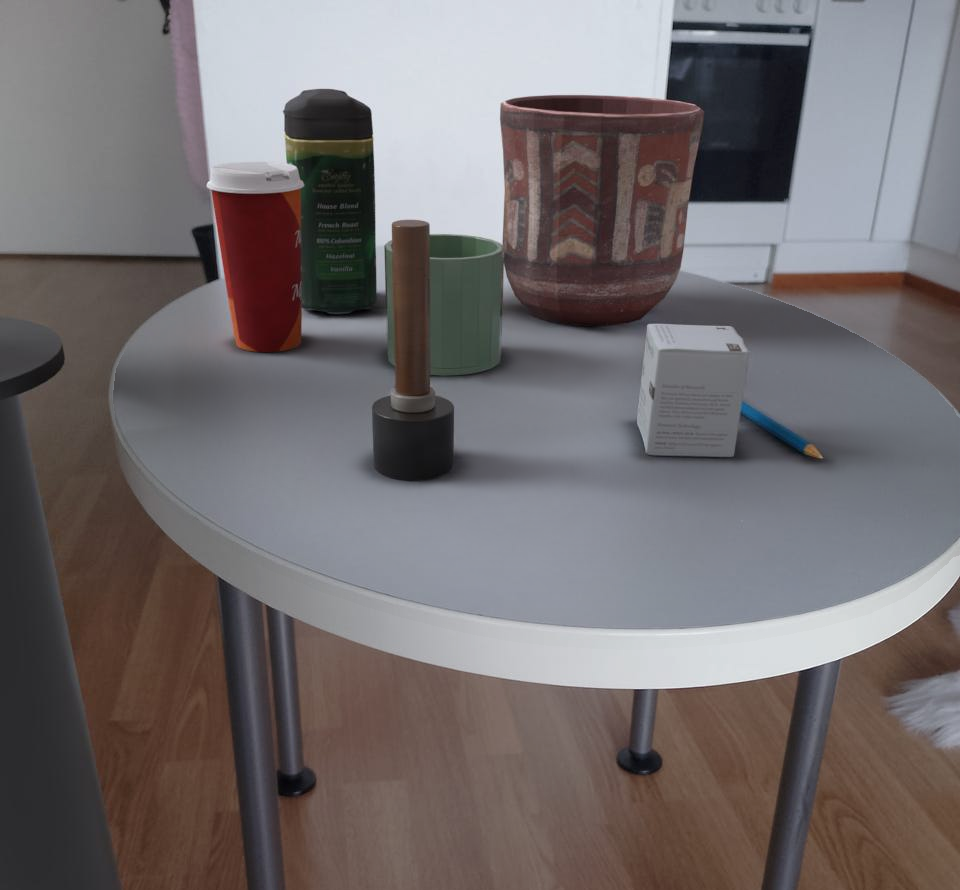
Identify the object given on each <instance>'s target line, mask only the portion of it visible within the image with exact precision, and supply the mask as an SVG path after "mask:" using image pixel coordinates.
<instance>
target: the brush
mask: <svg viewBox="0 0 960 890" xmlns="http://www.w3.org/2000/svg"><path fill="white" fill-rule="evenodd" d="M430 227H431V226H430V222H428V221H425V220H422V219H421V220H420V219H400V220H395V221H392V222H391V240H392V262H393V307H394V352H395V366H394V385H395V386H394V387H392V388H391V390H390V395H386V396H383V397H381V398H378V399H376V400H375V401H374V402H373V404H372V407H371V419H372V420H371V421H372V423H371V424H372V450H373V467H374V469H375V470H376V471H377V472H378V473H379V474H381V475H383V476H385V477H388V478H391V479H396V480H401V481H426V480H432V479H437V478H440V477H443V476H444V475H447V474H448V473H450V472H451V471H452V470H453V468H454V467H455V406H454V404H453V402H452V401H451V400H449V399H447V398H445V397H443V396H440V395H436V390H435V388H433V387H432V386H431V375H430V234H431V230H430Z"/></svg>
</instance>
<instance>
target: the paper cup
mask: <svg viewBox="0 0 960 890" xmlns="http://www.w3.org/2000/svg"><path fill="white" fill-rule="evenodd" d="M209 173H210V174H209V175H210V177H209V180H208V181H207V183H206V188H207V189H209V190H210V191H211V197H212V204H213V210H214V217H215V223H216V230H217V231H216V232H217V237H218V243H219V249H220V255H221V260H222V261H221V262H222V268H223V275H224V281H225V288H226V293H227V299H228V306H229V313H230V319H231V324H232V330H233V335H234V340H235V344H236V346H237V348H239V349H241V350H243V351H247V352H252V353H253V352H254V353H279V352H285V351H289V350H293V349H295V348H297V347H299V346H300V345H301V343H302V331H303V330H302V329H303V327H302V325H303V324H302V323H303V322H302V321H303V319H302V318H303V313H302V312H303V311H302V310H303V308H302V287H301V189H300V188H302V187H304V183H303V181H302V180H300V177H299V172H298V169H297V167H296V166H294V165H290V164H287V163H283V162H273V161H238V162H228V163H221V164H217V165H214V166H212V167H211V168H210V172H209Z"/></svg>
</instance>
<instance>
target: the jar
mask: <svg viewBox="0 0 960 890" xmlns="http://www.w3.org/2000/svg"><path fill="white" fill-rule="evenodd" d="M383 250H384V284H385V285H384V286H385V287H384V288H385V321H386V328H385V329H386V351H387V360H388V362H389V364H391V365H392V366H394V367H395V352H394V307H393V262H392V239H391V240H389V241H387V242H386V243H385V244H384V249H383ZM504 271H505V266H504V247H503V243H501V242H499V241H496V240H494V239H491V238H486V237H482V236H475V235H468V234H456V233H455V234H452V233H432V234H431V233H430V376H443V377H446V376H464V375H465V376H466V375H473V374H478V373H482V372H485V371H487V370H491V369H493V368H494V367H497V366H498V365H499V364H500V362H501V358H502V357H501V355H502V338H503V308H504V306H503V305H504V274H505V272H504Z"/></svg>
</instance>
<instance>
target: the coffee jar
mask: <svg viewBox="0 0 960 890" xmlns="http://www.w3.org/2000/svg"><path fill="white" fill-rule="evenodd" d="M282 113H283V116H284V119H283V121H284V124H283V125H284V126H283V127H284V128H283V131H284V141H285V143H284V145H285V159H286V164H290V165H294V166H296V167H297V169H298V172H299V177H300V180H302V181H303V183H304V187H302V188H300V189H301V287H302V310H303V309H304V310H305V311H318V312H326V314H329V315H347V314H350V313H353V312H355V311H361V310H369V309H372V308H373V307H374V306H375V304H376V302H377V246H376V245H377V244H376V239H377V237H376V227H377V226H376V225H377V224H376V181H375V179H376V177H375V176H376V175H375V150H374V136H373V135H374V129H373V128H374V127H373V116H372V115H373V114H372V109H371V108H370V107H369V106H368V105H367V104H365V103H364V102H362V101H360V100H358V99H356V98H354V97H352V96H350V95H348V93H347V92H346V91H344V90H339V89H333V88H314V89H313V88H312V89H306V90H302V91H301V92H300V93H299V94H298V95H297V96H295V97H292V98H291V99H289V100H288V101H287V102H286V103H285V105H284V110H282Z"/></svg>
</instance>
